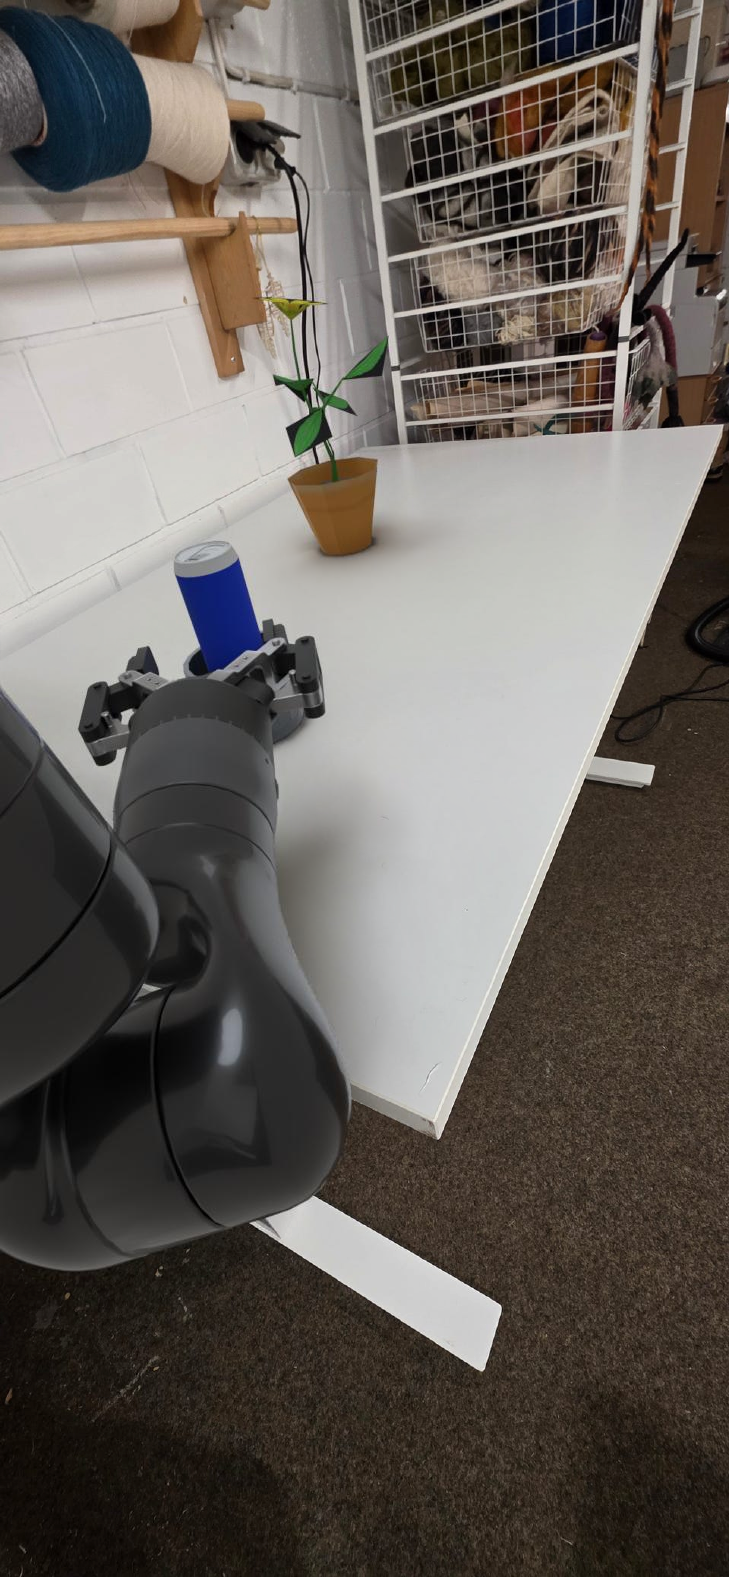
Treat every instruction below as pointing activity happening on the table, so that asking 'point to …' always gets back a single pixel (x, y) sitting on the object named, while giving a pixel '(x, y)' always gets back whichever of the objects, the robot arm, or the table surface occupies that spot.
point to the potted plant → (331, 457)
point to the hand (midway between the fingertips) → (209, 645)
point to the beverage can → (217, 602)
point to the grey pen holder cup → (198, 667)
